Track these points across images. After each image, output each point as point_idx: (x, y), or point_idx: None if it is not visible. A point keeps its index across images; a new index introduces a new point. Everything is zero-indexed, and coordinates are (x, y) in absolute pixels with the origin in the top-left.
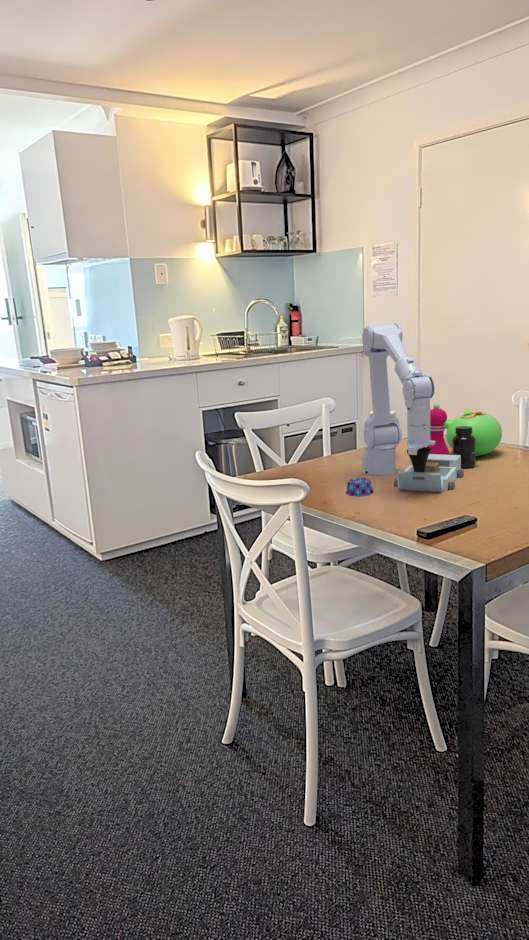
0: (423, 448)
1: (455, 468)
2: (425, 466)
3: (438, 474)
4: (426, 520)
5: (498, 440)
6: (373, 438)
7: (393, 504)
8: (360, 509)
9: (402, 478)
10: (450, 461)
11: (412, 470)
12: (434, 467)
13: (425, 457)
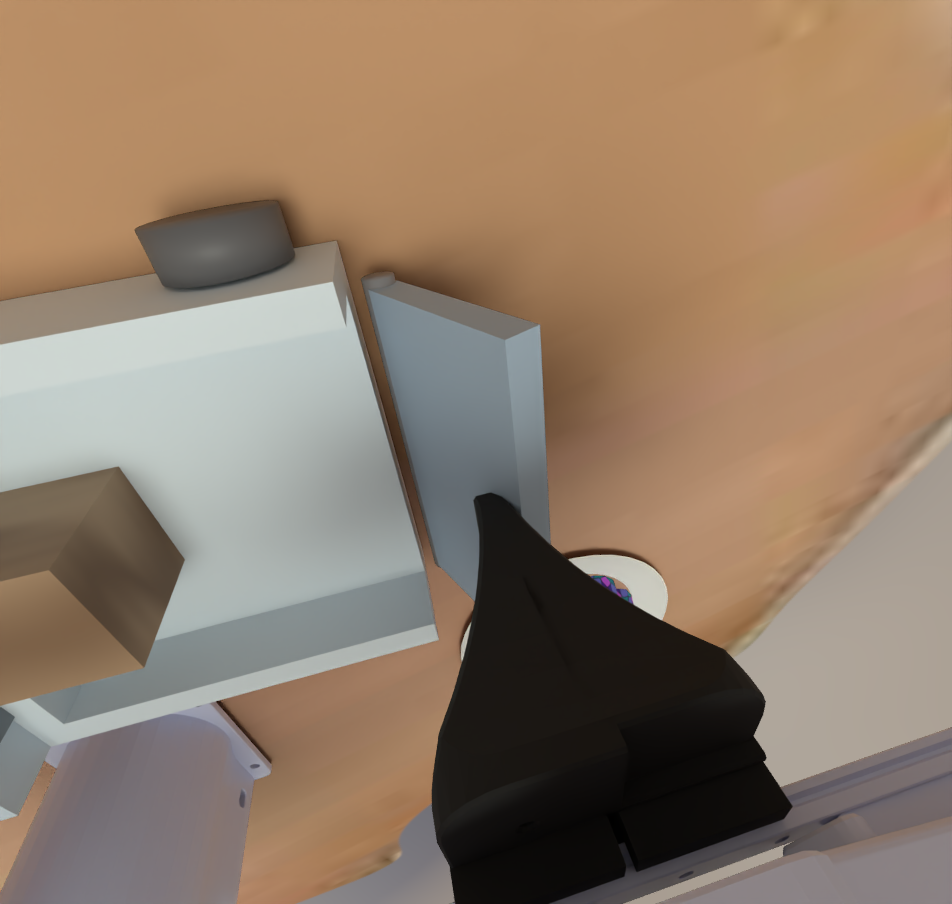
0: (565, 827)
1: None
2: (492, 550)
3: (525, 348)
4: (944, 148)
5: None
6: None
7: (635, 470)
8: (730, 542)
9: None
10: None
11: (88, 686)
12: (65, 566)
13: (664, 625)
